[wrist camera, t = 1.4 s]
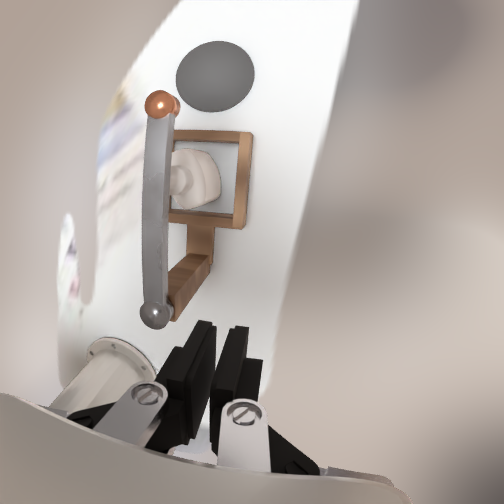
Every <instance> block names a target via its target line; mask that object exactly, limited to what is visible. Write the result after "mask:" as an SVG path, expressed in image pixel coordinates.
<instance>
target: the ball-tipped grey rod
mask: <svg viewBox="0 0 504 504" xmlns="http://www.w3.org/2000/svg"><path fill="white" fill-rule="evenodd" d="M145 111H146V113H147V114H148V119H147V130H146V141H145V154H144V170H143V192H142V272H143V294H144V304H143V305H142V306H141V308H140V317H141V319H142V321H143V322H144V324H145V325H147V326H148V327H150V328H152V329H156V330H158V329H162V328H164V327H165V326H166V324H167V323H168V322H169V320H170V319H171V318H172V316H173V313H174V309H173V306H172V304H171V302H170V301H169V300H168V220H169V194H170V175H171V160H172V147H173V135H174V124H175V117H176V116H177V115H178V114H179V111H180V102H179V100H178V99H177V98H176V97H174V96H172V95H171V94H169V93H167V92H166V91H163V90H158V91H155V92H153V93H151V94H150V95H149V96H148V97H147V99H146V101H145Z"/></svg>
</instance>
